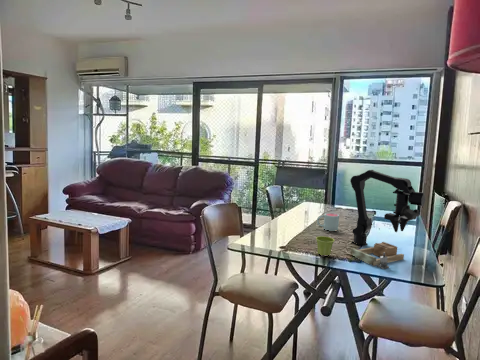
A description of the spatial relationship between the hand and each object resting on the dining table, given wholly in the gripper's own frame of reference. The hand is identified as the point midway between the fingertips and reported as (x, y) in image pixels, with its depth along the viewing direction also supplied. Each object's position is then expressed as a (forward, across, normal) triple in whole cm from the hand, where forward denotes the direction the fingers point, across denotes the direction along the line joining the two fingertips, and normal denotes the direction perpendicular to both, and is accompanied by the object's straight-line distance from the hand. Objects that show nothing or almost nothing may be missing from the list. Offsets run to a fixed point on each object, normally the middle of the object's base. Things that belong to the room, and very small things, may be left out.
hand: (398, 231), depth 194 cm
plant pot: (+12, -38, +14) cm, 43 cm away
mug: (+12, -4, +50) cm, 52 cm away
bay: (+12, -16, 0) cm, 20 cm away
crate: (+12, -10, 0) cm, 15 cm away
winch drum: (+12, -24, -10) cm, 28 cm away
